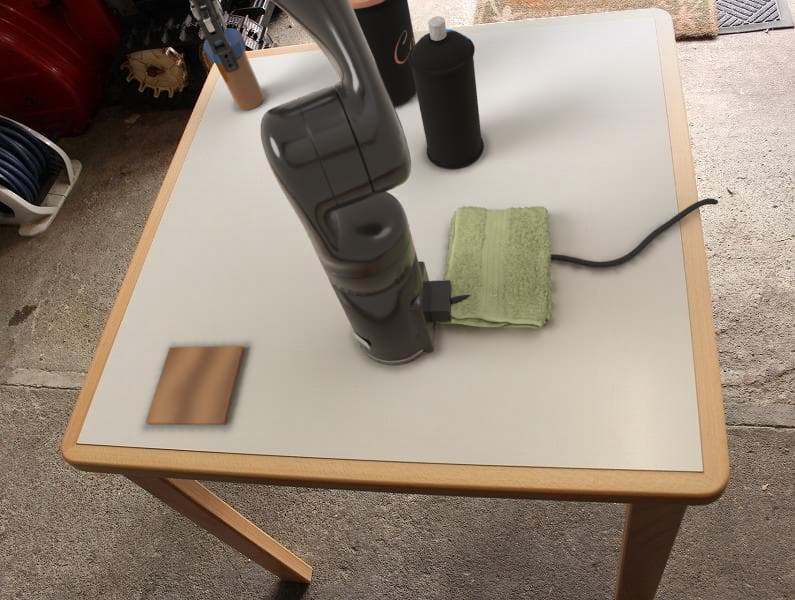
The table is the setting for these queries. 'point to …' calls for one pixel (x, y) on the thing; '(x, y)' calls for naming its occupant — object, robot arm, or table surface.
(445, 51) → the aerosol can
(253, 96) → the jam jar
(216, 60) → the jar lid
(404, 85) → the coffee jar
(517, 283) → the washcloth
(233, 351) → the mat
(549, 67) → the table surface
